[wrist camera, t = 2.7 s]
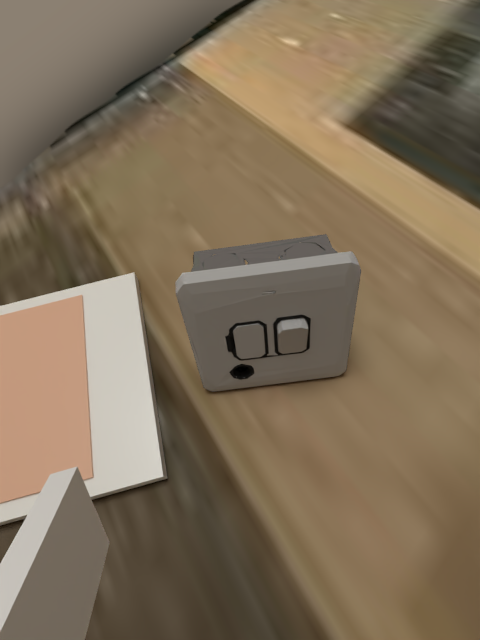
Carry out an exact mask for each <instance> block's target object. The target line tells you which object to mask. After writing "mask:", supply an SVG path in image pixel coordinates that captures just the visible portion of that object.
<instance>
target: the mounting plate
mask: <svg viewBox="0 0 480 640" xmlns="http://www.w3.org/2000/svg"><path fill="white" fill-rule="evenodd" d="M74 467H78V469H79V471H80V474H81V476H82V479H83V481H84V483H85V486H86V488H87V490H88V493H89V495H90V497H91V500H93V499H96V498H100V497H104V496H107V495H111V494H114V493H118V492H121V491H125V490H128V489H132V488H136V487H139V486H143V485H146V484H150V483H153V482H157V481H160V480H164V479H168V478H167V471H166V464H165V458H164V451H163V444H162V437H161V431H160V424H159V417H158V410H157V404H156V397H155V390H154V383H153V377H152V370H151V363H150V356H149V350H148V343H147V336H146V330H145V323H144V316H143V309H142V303H141V296H140V289H139V282H138V279H137V277H136V275H135V273H130V274H126V275H122V276H118V277H114V278H110V279H106V280H102V281H98V282H94V283H90V284H86V285H82V286H78V287H74V288H71V289H67V290H63V291H59V292H55V293H51V294H47V295H43V296H39V297H35V298H31V299H27V300H23V301H19V302H15V303H11V304H7V305H3V306H0V525H4V524H7V523H11V522H15V521H18V520H22V519H25V518H26V517H27V515H28V513H29V511H30V510H31V508H32V506H33V504H34V503H35V501H36V499H37V497H38V495H39V494H40V492H41V490H42V488H43V486H44V485H45V483H46V481H47V479H48V477H49V476H50V474H53V473H56V472H60V471H63V470H67V469H70V468H74Z"/></svg>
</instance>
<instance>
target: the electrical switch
mask: <svg viewBox="0 0 480 640" xmlns="http://www.w3.org/2000/svg"><path fill="white" fill-rule="evenodd" d="M299 242H301V243H299ZM318 245H319V246H320V247H319V246H318ZM213 254H216V255H213ZM212 255H213V256H212ZM279 256H280V259H279V258H278V257H279ZM244 260H246V261H247V262H248V264H247V265H245V261H244ZM193 264H194V266H193V268H192V271H191V272H187V273H182V274H181V276H180V277H179V278H178V280H177V281H176V296H177V299H178V303H179V306H180V309H181V313H182V316H183V319H184V323H185V326H186V330H187V333H188V336H189V340H190V343H191V346H192V350H193V353H194V356H195V360H196V363H197V367H198V370H199V373H200V377H201V380H202V383H203V387H204V388H205V389H207V390H209V391H223V390H231V389H239V388H247V387H255V386H263V385H271V384H279V383H287V382H295V381H303V380H311V379H319V378H327V377H335V376H339V375H341V374H342V373H343V372H345V371H346V368H347V362H348V355H349V348H350V342H351V335H352V328H353V321H354V315H355V308H356V301H357V295H358V288H359V281H360V274H361V269H360V266H359V263H358V261H357V258H356V257H355V255H354V254H353V252H342V253H337V251H335V250H334V249H333V248H332V246H331V244H330V241H329V239H328V237H327V235H326V234H325V235H318V236H310V237H303V238H295V239H287V240H280V241H272V242H265V243H257V244H250V245H242V246H235V247H227V248H220V249H212V250H205V251H197V252H194V255H193Z"/></svg>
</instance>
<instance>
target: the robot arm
mask: <svg viewBox="0 0 480 640" xmlns="http://www.w3.org/2000/svg"><path fill="white" fill-rule="evenodd" d="M109 543H110V542H109V540H108V538H107V535H106V533H105V530H104V528H103V526H102V523H101V521H100V519H99V516H98V514H97V512H96V509H95V507H94V505H93V502H92V500H91V497H90V495H89V493H88V490H87V488H86V486H85V483H84V481H83V479H82V476H81V474H80V471H79V469H78V467H74V468H70V469H67V470H63V471H60V472H56V473H53V474H50V476H49V477H48V479H47V481H46V483H45V485H44V486H43V488H42V490H41V492H40V494H39V495H38V497H37V499H36V501H35V503H34V504H33V506H32V508H31V510H30V511H29V513H28V515H27V517H26V519H25V520H24V522H23V524H22V526H21V528H20V529H19V531H18V533H17V535H16V537H15V538H14V540H13V542H12V544H11V546H10V547H9V549H8V551H7V553H6V554H5V556H4V558H3V560H2V562H1V563H0V640H85V637H86V633H87V629H88V625H89V621H90V617H91V613H92V609H93V605H94V602H95V598H96V594H97V590H98V586H99V582H100V578H101V574H102V570H103V566H104V562H105V558H106V554H107V550H108V547H109Z"/></svg>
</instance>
